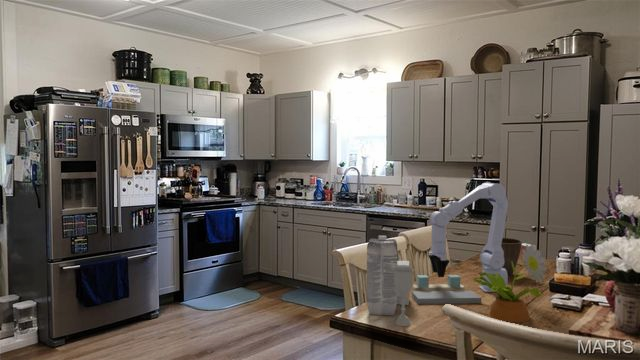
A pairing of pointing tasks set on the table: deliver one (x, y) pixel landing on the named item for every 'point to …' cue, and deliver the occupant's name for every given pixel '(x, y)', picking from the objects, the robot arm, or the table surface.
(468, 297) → the loading dock
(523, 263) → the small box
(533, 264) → the decorative plant
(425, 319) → the table surface
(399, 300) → the supplement box
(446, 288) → the beige bar
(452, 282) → the block
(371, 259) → the juice carton
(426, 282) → the block
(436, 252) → the robot arm
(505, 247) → the plant pot
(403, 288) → the chalice
